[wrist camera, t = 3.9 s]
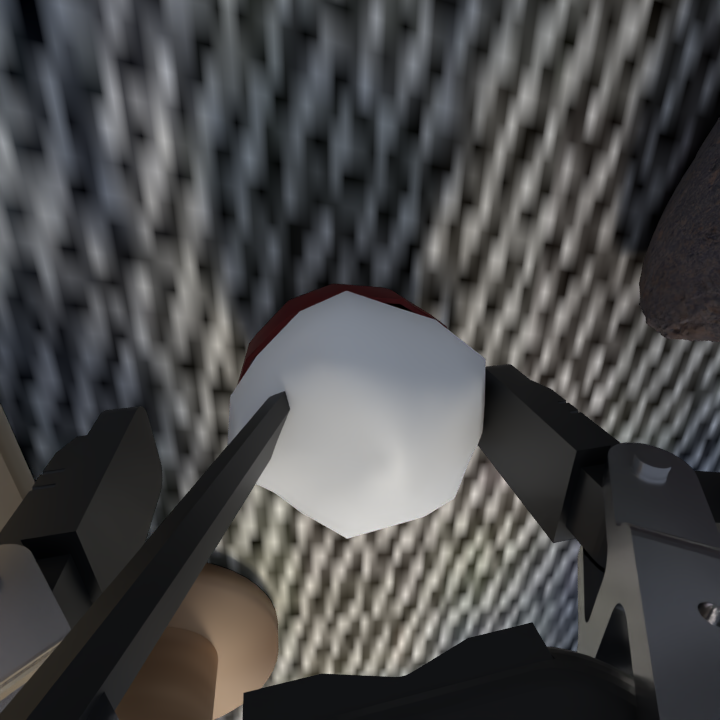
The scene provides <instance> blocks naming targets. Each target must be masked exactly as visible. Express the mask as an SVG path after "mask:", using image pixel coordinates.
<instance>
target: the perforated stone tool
mask: <svg viewBox="0 0 720 720" xmlns="http://www.w3.org/2000/svg"><path fill="white" fill-rule="evenodd" d="M639 286H640V303H639V305H640V307H641V309H642V310H643V311H642V312H643V314H644V315H645V317H646V323H647V324H648V325H649V326H650V327H653V328H655V329H656V331H657V332H659V333H661V335H662V336H664V337H665V338H668V339H684V340H690V341H694V340H698V341H704V340H705V341H708V340H709V341H712V342H713V341H715V342H718V341H720V117H719V119H718V120H717V122H716V124H715V125H714V127H713V128H712V130H711V131H710V133H709V134H708V136H707V138H706V139H705V141H704V142H703V144H702V146H701V147H700V149H699V151H698V153H697V154H696V157H695V159H694V160H693V162H692V163H691V165H690V166H689V168H688V169H687V171H686V173H685V174H684V176H683V177H682V179H681V181H680V183H679V184H678V186H677V188H676V189H675V191H674V193H673V195H672V197H671V198H670V200H669V202H668V204H667V206H666V208H665V210H664V211H663V214H662V216H661V218H660V220H659V222H658V225H657V227H656V230H655V232H654V234H653V236H652V239H651V241H650V244H649V247H648V250H647V253H646V256H645V259H644V263H643V267H642V272H641V277H640V282H639Z"/></svg>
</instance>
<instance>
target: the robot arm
mask: <svg viewBox="0 0 720 720" xmlns="http://www.w3.org/2000/svg"><path fill="white" fill-rule="evenodd" d="M478 446H479V447H480V448H481V450H482V451H483V452H484V454H485V455H486V456H487V458H488V459H489V460H490V461H491V463H492V464H493V465H494V467H495V468H496V469H497V471H498V472H499V473H500V474H501V476H502V477H503V478H504V480H505V481H506V482H507V484H508V485H509V486H510V487H511V489H512V490H513V491H514V493H515V494H516V495H517V497H518V498H519V499H520V500H521V502H522V503H523V504H524V506H525V507H526V508H527V510H528V511H529V512H530V513H531V515H532V516H533V517H534V519H535V520H536V521H537V523H538V524H539V525H540V526H541V528H542V529H543V530H544V532H545V533H546V534H547V536H548V537H549V538H550V539H551V541H552V542H553V543H556V542H561V541H565V540H570V539H575V538H576V539H577V540H578V542H579V543H580V544H581V546H580V550H579V553H578V647H577V652H575V651H571V650H567V649H561V648H556V647H547V646H546V645H545V643H544V642H543V640H542V638H541V636H540V635H539V633H538V631H537V630H536V628H535V626H534V625H533V623H528V624H524V625H520V626H516V627H512V628H508V629H504V630H499V631H495V632H491V633H487V634H483V635H479V636H475V637H471V638H467V639H466V640H464V641H463V642H461V643H459V644H458V645H456V646H454V647H453V648H451V649H449V650H448V651H446V652H445V653H443V654H441V655H440V656H438V657H436V658H435V659H433V660H431V661H430V662H428V663H426V664H425V665H423V666H422V667H420V668H418V669H417V670H415V671H413V672H412V673H410V674H408V675H406V676H402V677H381V676H360V675H338V674H319V675H314V676H310V677H306V678H302V679H298V680H294V681H290V682H286V683H282V684H277V685H273V686H269V687H265V688H261V689H257V690H253V691H249V692H245V693H243V720H720V473H718V472H704V471H694V470H693V469H692V468H691V467H690V466H689V465H688V464H687V463H686V462H685V461H683V460H682V459H680V458H679V457H677V456H675V455H674V454H672V453H670V452H668V451H665V450H663V449H660V448H657V447H654V446H650V445H646V444H641V443H620V442H618V441H617V440H616V439H615V438H613V437H612V436H611V435H610V434H608V433H607V432H606V431H604V430H603V429H602V428H601V427H599V426H598V425H597V424H595V423H594V422H593V421H592V420H590V419H589V418H588V417H586V416H585V415H584V414H583V413H581V412H580V413H578V410H577V409H576V408H575V407H574V406H572V405H571V404H570V403H566V400H565V399H563V398H562V397H561V396H559V395H558V394H557V393H556V392H554V391H553V390H552V389H550V388H548V387H545V386H543V385H541V384H539V383H536V382H534V381H532V380H530V379H528V378H527V377H526V376H525V375H523V374H522V373H521V372H520V371H518V370H517V369H516V368H515V367H513V366H512V365H510V364H505V365H497V366H488V367H485V407H484V420H483V432H482V435H481V437H480V440H479V443H478ZM161 487H162V467H161V462H160V458H159V454H158V451H157V447H156V443H155V440H154V436H153V433H152V429H151V425H150V422H149V418H148V415H147V412H146V410H145V409H144V408H143V407H142V406H139V407H130V408H122V409H113V410H105V411H103V412H102V413H101V414H100V416H99V417H98V419H97V421H96V422H95V424H94V425H93V427H92V428H91V430H90V432H89V433H88V435H86V436H78V437H76V438H75V439H74V440H72V441H71V442H70V443H69V444H67V445H66V446H65V447H63V448H62V449H61V450H59V451H58V452H57V453H56V454H55V455H54V457H53V458H52V459H51V461H50V462H49V464H48V465H47V467H46V468H45V469H44V471H43V475H40V476H39V478H38V479H37V481H36V482H35V484H34V485H33V486H32V491H29V492H28V493H27V495H26V496H25V498H24V499H23V501H22V502H21V503H20V505H19V506H18V508H17V509H16V510H15V512H14V513H13V515H12V516H11V518H10V519H9V520H8V522H7V523H6V525H5V526H4V527H3V529H2V530H1V532H0V713H1V712H2V711H3V710H4V708H5V707H6V706H7V705H8V704H9V703H10V701H11V700H12V699H13V698H14V697H15V695H16V694H17V693H18V692H19V691H20V690H21V688H22V687H23V686H24V685H25V684H26V683H27V681H28V680H29V679H30V678H31V677H32V675H33V674H34V673H35V672H36V671H37V670H38V668H39V667H40V666H41V665H42V664H43V663H44V661H45V660H46V659H47V658H48V657H49V655H50V654H51V653H52V652H53V651H54V650H55V648H56V647H57V646H58V645H59V644H60V643H61V641H62V640H63V639H64V638H65V637H66V635H67V634H68V633H69V632H70V631H71V630H72V628H73V627H74V626H75V625H76V624H77V623H78V621H79V620H80V619H81V618H82V617H83V615H84V614H85V613H86V612H87V611H88V610H89V608H90V607H91V606H92V605H93V604H94V603H95V601H96V600H97V599H98V598H99V597H100V595H101V594H102V593H103V592H104V591H105V590H106V588H107V587H108V586H109V585H110V584H111V582H112V581H113V580H114V579H115V578H116V577H117V575H118V574H119V573H120V572H121V571H122V570H123V568H124V567H125V566H126V565H127V564H128V562H129V561H130V560H131V559H132V558H133V557H134V555H135V554H136V553H137V552H138V551H139V550H140V548H141V547H142V546H143V545H144V544H145V541H146V538H147V535H148V531H149V528H150V525H151V522H152V518H153V515H154V512H155V508H156V505H157V502H158V499H159V495H160V492H161ZM86 720H119V719H118V717H117V715H116V713H115V711H114V709H113V707H112V705H111V703H110V701H109V699H108V698H107V696H106V694H105V692H103V694H102V696H101V697H100V699H99V700H98V702H97V703H96V705H95V706H94V708H93V710H92V711H91V713H90V714H89V716H88V717H87V719H86Z"/></svg>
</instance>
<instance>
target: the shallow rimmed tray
mask: <svg viewBox="0 0 720 720" xmlns="http://www.w3.org/2000/svg"><path fill="white" fill-rule="evenodd" d="M34 484H35V481H34V479H33V477H32V475H31V472H30V470H29V468H28V466H27V463H26V461H25V459H24V456H23V454H22V452H21V450H20V447H19V445H18V443H17V441H16V438H15V436H14V434H13V431H12V429H11V427H10V425H9V422H8V420H7V418H6V416H5V413H4V411H3V409H2V406H1V404H0V532H1V530H2V529H3V527H4V526H5V525H6V523H7V522H8V520H9V519H10V518H11V516H12V515H13V513H14V512H15V510H16V509H17V508H18V506H19V505H20V503H21V502H22V501H23V499H24V498H25V496H26V495H27V493H28V492H29V491H32V486H33V485H34Z"/></svg>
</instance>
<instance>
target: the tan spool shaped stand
mask: <svg viewBox="0 0 720 720" xmlns="http://www.w3.org/2000/svg"><path fill="white" fill-rule="evenodd" d="M277 656H278V621H277V616H276V612H275V609H274V607H273V605H272V603H271V601H270V600H269V598H268V597H267V596H266V594H265V593H264V592H263V591H262V590H261V589H260V588H259V587H258V586H257V585H256V584H254V583H253V582H251V581H250V580H248V579H247V578H245V577H244V576H242V575H240V574H238V573H236V572H234V571H231V570H229V569H226V568H223V567H220V566H217V565H213V564H209V563H206V564H205V566H204V568H203V569H202V571H201V572H200V574H199V576H198V577H197V579H196V580H195V582H194V584H193V585H192V587H191V589H190V590H189V592H188V593H187V595H186V597H185V598H184V600H183V601H182V603H181V605H180V606H179V608H178V609H177V611H176V613H175V614H174V616H173V618H172V619H171V621H170V622H169V624H168V626H167V627H166V629H165V630H164V632H163V634H162V635H161V637H160V638H159V640H158V642H157V643H156V645H155V647H154V648H153V650H152V651H151V653H150V655H149V656H148V658H147V659H146V661H145V663H144V664H143V666H142V668H141V669H140V671H139V672H138V674H137V676H136V677H135V679H134V680H133V682H132V684H131V685H130V687H129V688H128V690H127V692H126V693H125V695H124V697H123V698H122V700H121V701H120V703H119V705H118V706H117V708H116V709H115V713H116V715H117V717H118V719H119V720H214V719H216V718H219V717H221V716H223V715H225V714H227V713H228V712H230V711H232V710H234V709H235V708H237V707H238V706H240V705H242V704H243V693H245V692H249V691H253V690H257V689H260V688H261V687H262V686H263V685H264V683H265V682H266V681H267V680H268V678H269V677H270V675H271V673H272V671H273V669H274V667H275V664H276V661H277Z"/></svg>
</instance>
